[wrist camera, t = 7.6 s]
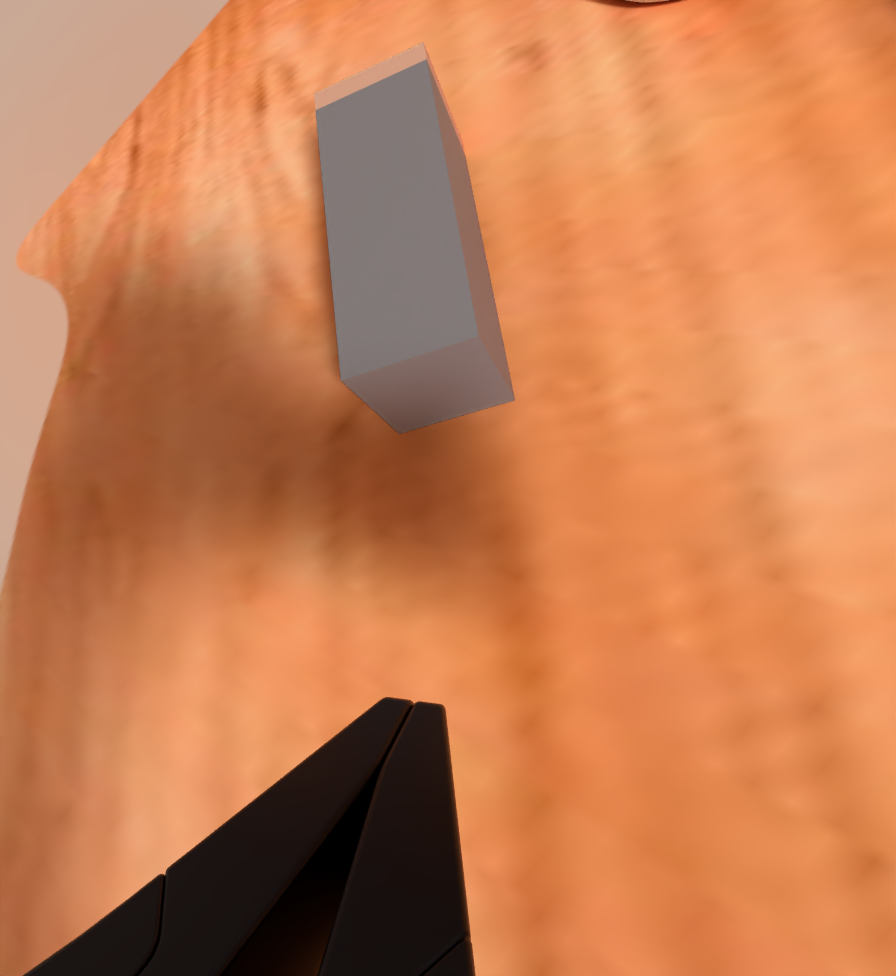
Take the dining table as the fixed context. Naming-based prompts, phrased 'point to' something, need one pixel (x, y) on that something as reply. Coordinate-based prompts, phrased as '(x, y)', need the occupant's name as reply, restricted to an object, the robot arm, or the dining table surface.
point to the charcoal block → (406, 249)
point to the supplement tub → (646, 0)
